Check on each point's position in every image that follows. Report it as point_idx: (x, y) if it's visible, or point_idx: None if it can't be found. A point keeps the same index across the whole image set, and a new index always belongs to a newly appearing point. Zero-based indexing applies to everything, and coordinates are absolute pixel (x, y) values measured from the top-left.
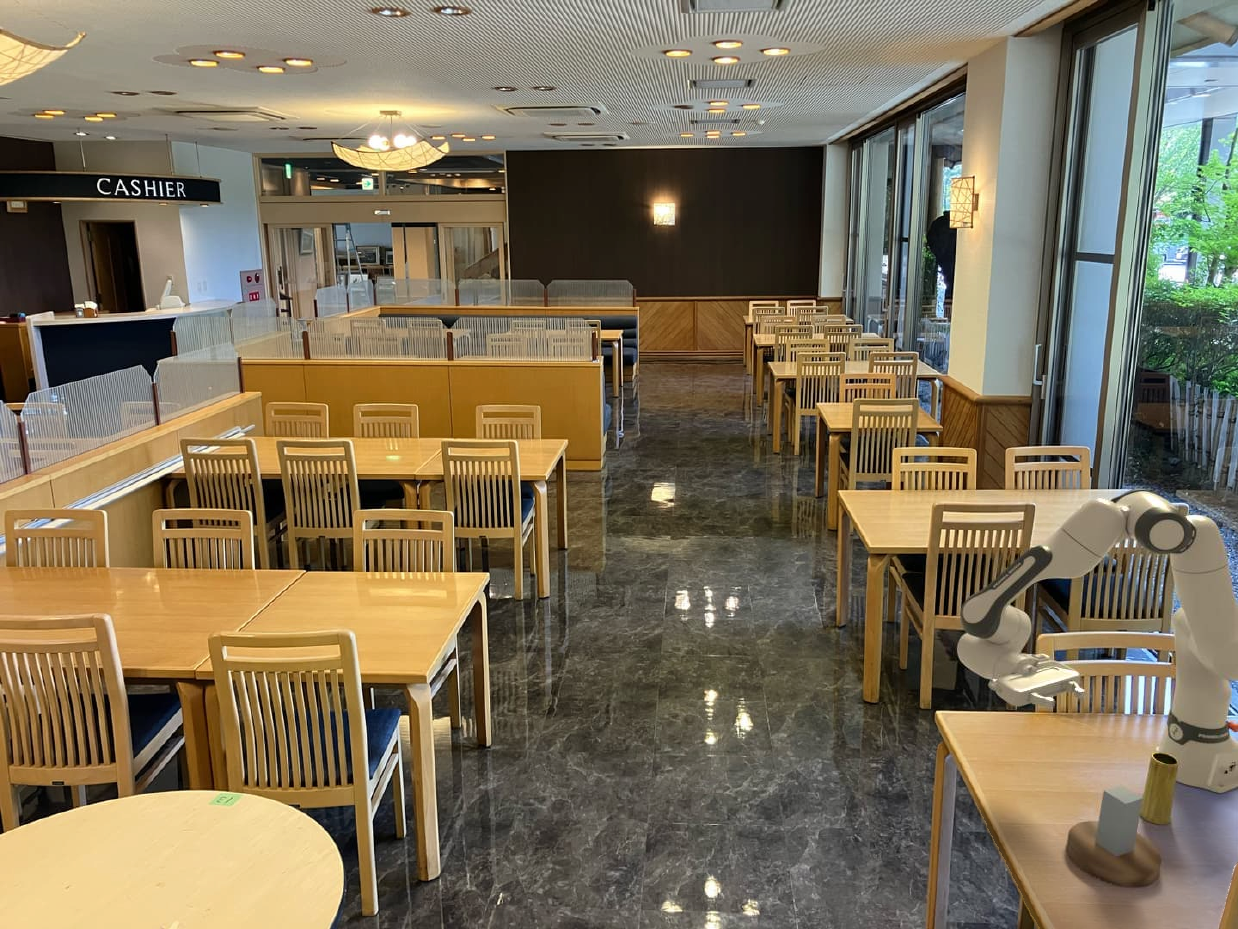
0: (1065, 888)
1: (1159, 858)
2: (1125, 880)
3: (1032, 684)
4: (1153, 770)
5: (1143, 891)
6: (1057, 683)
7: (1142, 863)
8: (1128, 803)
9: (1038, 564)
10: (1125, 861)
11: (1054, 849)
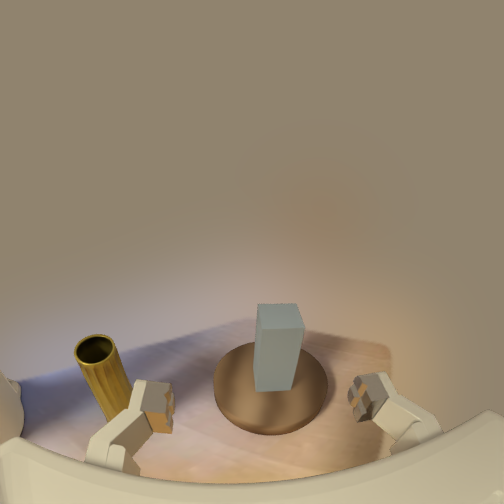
0: (357, 369)
1: (235, 349)
2: None
3: (424, 477)
4: (118, 368)
5: None
6: (223, 484)
7: None
8: (289, 304)
9: None
10: None
11: (330, 420)
